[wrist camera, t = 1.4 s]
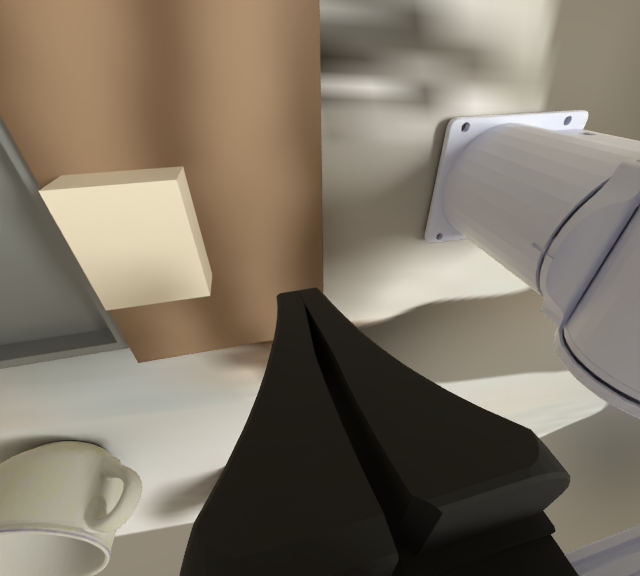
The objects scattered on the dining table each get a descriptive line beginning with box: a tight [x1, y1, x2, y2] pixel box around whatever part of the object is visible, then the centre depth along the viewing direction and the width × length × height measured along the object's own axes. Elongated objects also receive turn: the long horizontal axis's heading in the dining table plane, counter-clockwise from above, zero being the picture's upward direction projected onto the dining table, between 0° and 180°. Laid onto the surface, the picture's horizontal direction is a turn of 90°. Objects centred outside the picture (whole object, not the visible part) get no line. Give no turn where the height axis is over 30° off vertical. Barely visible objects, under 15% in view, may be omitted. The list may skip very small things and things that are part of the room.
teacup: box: [0, 441, 142, 576], centre depth 25 cm, size 14×11×8 cm
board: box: [0, 0, 323, 363], centre depth 17 cm, size 12×18×2 cm
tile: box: [39, 166, 212, 311], centre depth 15 cm, size 5×6×2 cm
